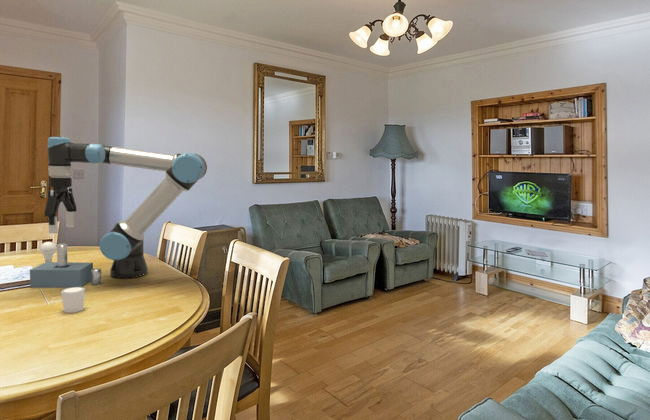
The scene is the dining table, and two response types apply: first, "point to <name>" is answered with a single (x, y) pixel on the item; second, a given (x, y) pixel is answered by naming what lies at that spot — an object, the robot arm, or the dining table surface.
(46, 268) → the hole block
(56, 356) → the dining table surface
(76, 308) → the shot glass
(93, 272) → the short pin
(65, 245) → the tall pin
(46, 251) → the lightbulb
